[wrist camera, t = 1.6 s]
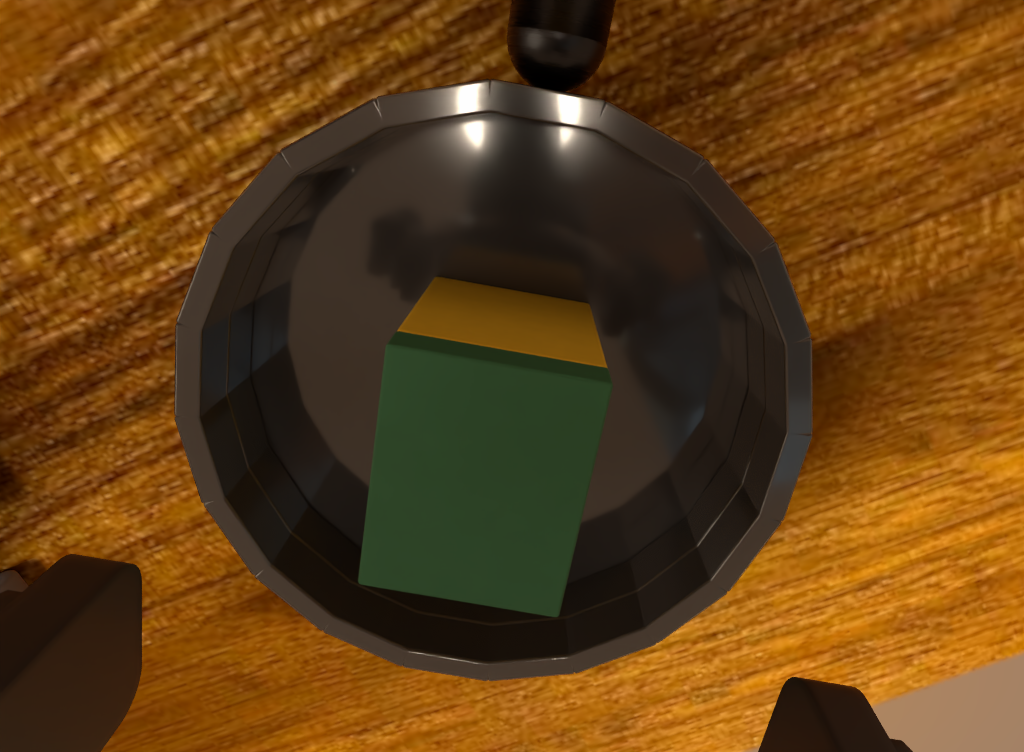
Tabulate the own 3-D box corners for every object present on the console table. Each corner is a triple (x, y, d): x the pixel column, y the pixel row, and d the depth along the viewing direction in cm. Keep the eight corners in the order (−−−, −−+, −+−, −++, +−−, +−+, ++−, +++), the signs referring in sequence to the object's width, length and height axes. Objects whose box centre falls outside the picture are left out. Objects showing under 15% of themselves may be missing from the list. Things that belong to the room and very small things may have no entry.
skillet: (249, 42, 17) (177, 20, 13) (838, 150, 17) (910, 156, 14) (227, 552, 21) (170, 629, 18) (688, 630, 22) (714, 720, 18)
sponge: (434, 275, 18) (385, 343, 12) (591, 303, 18) (613, 383, 12) (410, 452, 19) (357, 585, 14) (553, 477, 20) (558, 619, 14)
